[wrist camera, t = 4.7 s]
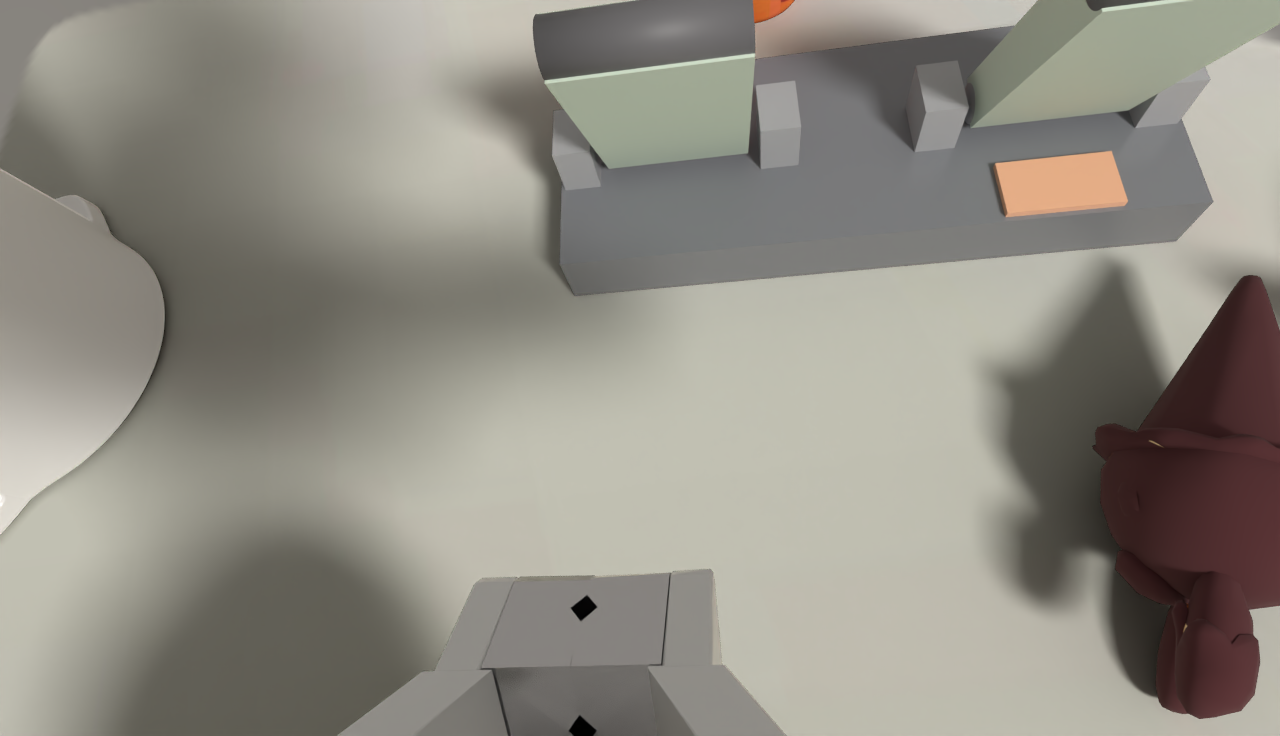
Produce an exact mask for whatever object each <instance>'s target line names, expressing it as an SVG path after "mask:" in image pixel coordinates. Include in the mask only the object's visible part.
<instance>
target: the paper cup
mask: <svg viewBox="0 0 1280 736" xmlns="http://www.w3.org/2000/svg"><path fill="white" fill-rule="evenodd" d="M793 2H794V0H753V10H754V23H758V22H762V21H766V20H768V19H771V18H773V17H775V16H777V15H779V14H780V13H782V12H783V11H785V10H786V9H787V8H788V7H789V6H790V5H791V4H792V3H793Z"/></svg>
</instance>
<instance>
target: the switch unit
mask: <svg viewBox="0 0 1280 736" xmlns="http://www.w3.org/2000/svg"><path fill="white" fill-rule="evenodd" d="M1013 28H1014V26H1008V27H1000V28H993V29H985V30H977V31H969V32H961V33H954V34H946V35H938V36H930V37H923V38H915V39H907V40H899V41H892V42H884V43H876V44H868V45H860V46H853V47H845V48H837V49H829V50H822V51H814V52H806V53H798V54H791V55H783V56H775V57H767V58H759V59H755V66H754V80H753V94H752V108H751V121H750V135H749V149H748V153H746V154H737V155H729V156H720V157H711V158H702V159H693V160H684V161H675V162H666V163H657V164H649V165H640V166H631V167H622V168H613V169H609V168H608V167H607V166H606V164H605V163H604V162H603V160H602V159H601V158H600V157H599V155H598V154H597V153H596V151H595V150H594V149H593V147H592V146H591V145H590V143H589V142H588V141H587V139H586V138H585V137H584V135H583V134H582V133H581V131H580V130H579V129H578V127H577V126H576V125H575V123H574V122H573V121H572V119H571V118H570V117H569V115H568V114H567V113H566V111H565V110H564V109H562V110H554V111H553V142H552V157H553V160H554V162H555V165H556V167H557V170H558V172H559V175H560V177H561V180H562V190H561V230H560V267H561V269H562V271H563V273H564V275H565V277H566V279H567V281H568V283H569V285H570V287H571V289H572V291H573V293H574V295H575V296H577V295H588V294H599V293H610V292H621V291H633V290H644V289H655V288H666V287H677V286H688V285H699V284H710V283H721V282H732V281H743V280H754V279H765V278H776V277H787V276H798V275H809V274H820V273H831V272H842V271H853V270H864V269H875V268H886V267H897V266H908V265H919V264H930V263H941V262H952V261H963V260H974V259H985V258H996V257H1007V256H1018V255H1029V254H1040V253H1051V252H1062V251H1073V250H1084V249H1095V248H1106V247H1117V246H1128V245H1139V244H1150V243H1162V242H1173V241H1177V240H1178V239H1179V238H1180V236H1181V235H1182V234H1183V233H1184V232H1185V231H1186V230H1187V229H1188V228H1189V227H1190V226H1191V225H1192V224H1193V223H1194V222H1195V221H1196V220H1197V218H1198V217H1199V216H1200V215H1201V214H1202V213H1203V212H1204V211H1205V210H1206V209H1207V208H1208V207H1209V206H1210V205H1211V204H1212V203H1213V200H1212V197H1211V194H1210V192H1209V189H1208V187H1207V184H1206V181H1205V179H1204V176H1203V174H1202V171H1201V168H1200V166H1199V163H1198V161H1197V158H1196V155H1195V153H1194V150H1193V147H1192V145H1191V142H1190V140H1189V137H1188V134H1187V132H1186V129H1185V127H1184V124H1183V121H1182V119H1181V118H1182V117H1183V116H1184V114H1185V113H1186V112H1187V110H1188V109H1189V108H1190V106H1191V105H1192V104H1193V102H1194V101H1195V100H1196V98H1197V97H1198V96H1199V94H1200V93H1201V92H1202V90H1203V89H1204V88H1205V86H1206V85H1207V84H1208V82H1209V81H1210V80H1211V79H1210V77H1209V75H1208V72H1207V70H1206V67H1203V68H1202V69H1200V70H1198V71H1196V72H1195V73H1193V74H1191V75H1189V76H1188V77H1186V78H1184V79H1182V80H1181V81H1179V82H1177V83H1175V84H1174V85H1172V86H1170V87H1168V88H1167V89H1165V90H1163V91H1161V92H1160V93H1158V94H1156V95H1154V96H1153V97H1151V98H1149V99H1147V100H1146V101H1144V102H1142V103H1140V104H1139V105H1137V106H1135V107H1133V108H1132V109H1130V110H1128V111H1119V112H1110V113H1102V114H1093V115H1084V116H1075V117H1066V118H1057V119H1048V120H1039V121H1031V122H1022V123H1013V124H1004V125H995V126H986V127H977V128H970V124H967V123H966V122H965V117H966V115H967V112H968V109H969V105H968V101H967V97H966V93H965V87H966V85H967V78H968V77H969V76H970V75H971V74H972V73H973V72H974V71H975V70H976V68H977V67H978V66H979V65H980V64H981V63H982V62H983V61H984V60H985V58H986V57H987V56H988V55H989V54H990V53H991V52H992V51H993V50H994V49H995V47H996V46H997V45H998V44H999V43H1000V42H1001V41H1002V40H1003V39H1004V37H1005V36H1006V35H1007V34H1008V33H1009V32H1010V31H1011V30H1012V29H1013Z"/></svg>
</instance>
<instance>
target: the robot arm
mask: <svg viewBox="0 0 1280 736" xmlns="http://www.w3.org/2000/svg"><path fill="white" fill-rule="evenodd" d="M164 322H165V309H164V300H163V294H162V291H161V287H160V284H159V282H158V279H157V277H156V275H155V273H154V271H153V270H152V268H151V267H150V265H149V264H148V263H147V262H146V261H145V259H143V258H142V257H141V256H140V255H139V254H138V253H137V252H135V251H134V250H133V249H131V248H129V247H128V246H126V245H125V244H123V243H121V242H120V241H118V240H117V239H116V238H115V237H114V236H113V235H112V234H111V233H110V230H109V228H108V225H107V223H106V220H105V218H104V216H103V214H102V212H101V211H100V209H99V208H98V207H97V206H96V205H94V204H93V203H91V202H89V201H87V200H85V199H84V198H82V197H80V196H77V195H67V196H63V197H59V198H56V199H53V198H52V197H50V196H48V195H46V194H45V193H43V192H41V191H39V190H38V189H36V188H34V187H32V186H31V185H29V184H27V183H25V182H24V181H22V180H20V179H18V178H17V177H15V176H13V175H11V174H10V173H8V172H6V171H4V170H2V169H1V168H0V535H1V533H2V532H3V531H4V530H5V529H6V528H7V527H8V526H9V525H10V524H11V522H12V521H13V520H14V519H15V518H16V517H17V515H18V514H19V513H20V512H21V511H22V509H23V508H24V507H25V506H26V505H27V503H28V502H29V501H30V500H31V499H32V498H33V497H34V496H36V495H37V494H38V493H39V492H41V491H42V490H43V489H45V488H46V487H47V486H49V485H50V484H52V483H53V482H55V481H56V480H58V479H59V478H61V477H62V476H64V475H65V474H67V473H68V472H70V471H71V470H73V469H74V468H76V467H77V466H78V465H80V464H81V463H82V462H83V461H85V460H86V459H87V458H88V457H89V456H91V455H92V454H93V453H94V452H95V451H96V450H97V449H98V448H99V447H100V446H101V445H102V444H103V443H104V442H105V441H106V440H107V439H108V438H109V437H110V436H111V435H112V434H113V433H114V432H115V431H116V429H117V428H118V427H119V426H120V425H121V423H122V422H123V421H124V420H125V418H126V417H127V416H128V414H129V413H130V411H131V410H132V409H133V407H134V406H135V404H136V402H137V401H138V399H139V398H140V396H141V394H142V392H143V391H144V389H145V387H146V385H147V383H148V381H149V379H150V377H151V374H152V372H153V369H154V367H155V364H156V361H157V358H158V355H159V352H160V348H161V344H162V339H163V333H164ZM337 736H787V735H786V734H785V733H784V732H783V731H782V730H781V729H780V727H779V726H778V725H777V724H776V723H775V722H774V721H773V719H772V718H771V717H770V716H769V715H768V714H767V712H766V711H765V710H764V709H763V708H762V707H761V706H760V704H759V703H758V702H757V701H756V700H755V699H754V698H753V696H752V695H751V694H750V693H749V692H748V691H747V689H746V688H745V687H744V686H743V685H742V684H741V683H740V681H739V680H738V679H737V678H736V677H735V676H734V675H733V673H732V672H731V671H730V670H729V669H728V668H727V667H726V665H722V654H721V642H720V631H719V620H718V610H717V599H716V589H715V579H714V574H713V571H712V570H711V569H699V570H684V571H673V572H672V573H654V574H631V575H607V576H595V575H590V576H526V577H519V578H517V577H497V578H482V579H480V580H479V581H477V582H476V583H475V584H474V586H473V588H472V590H471V592H470V594H469V596H468V599H467V601H466V603H465V605H464V607H463V609H462V612H461V614H460V616H459V618H458V620H457V622H456V624H455V627H454V629H453V631H452V633H451V635H450V637H449V640H448V642H447V644H446V646H445V648H444V650H443V652H442V655H441V657H440V659H439V661H438V663H437V665H436V668H435V670H434V671H422V672H421V673H419V674H418V675H417V676H415V677H414V678H413V679H411V680H410V681H409V682H407V683H406V684H405V685H403V686H402V687H401V688H399V689H398V690H397V691H395V692H394V693H393V694H391V695H390V696H389V697H387V698H386V699H385V700H383V701H382V702H381V703H380V704H378V705H377V706H376V707H374V708H373V709H372V710H370V711H369V712H368V713H366V714H365V715H364V716H362V717H361V718H360V719H358V720H357V721H356V722H354V723H353V724H352V725H350V726H349V727H348V728H346V729H345V730H344V731H342V732H341V733H340V734H338V735H337Z"/></svg>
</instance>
